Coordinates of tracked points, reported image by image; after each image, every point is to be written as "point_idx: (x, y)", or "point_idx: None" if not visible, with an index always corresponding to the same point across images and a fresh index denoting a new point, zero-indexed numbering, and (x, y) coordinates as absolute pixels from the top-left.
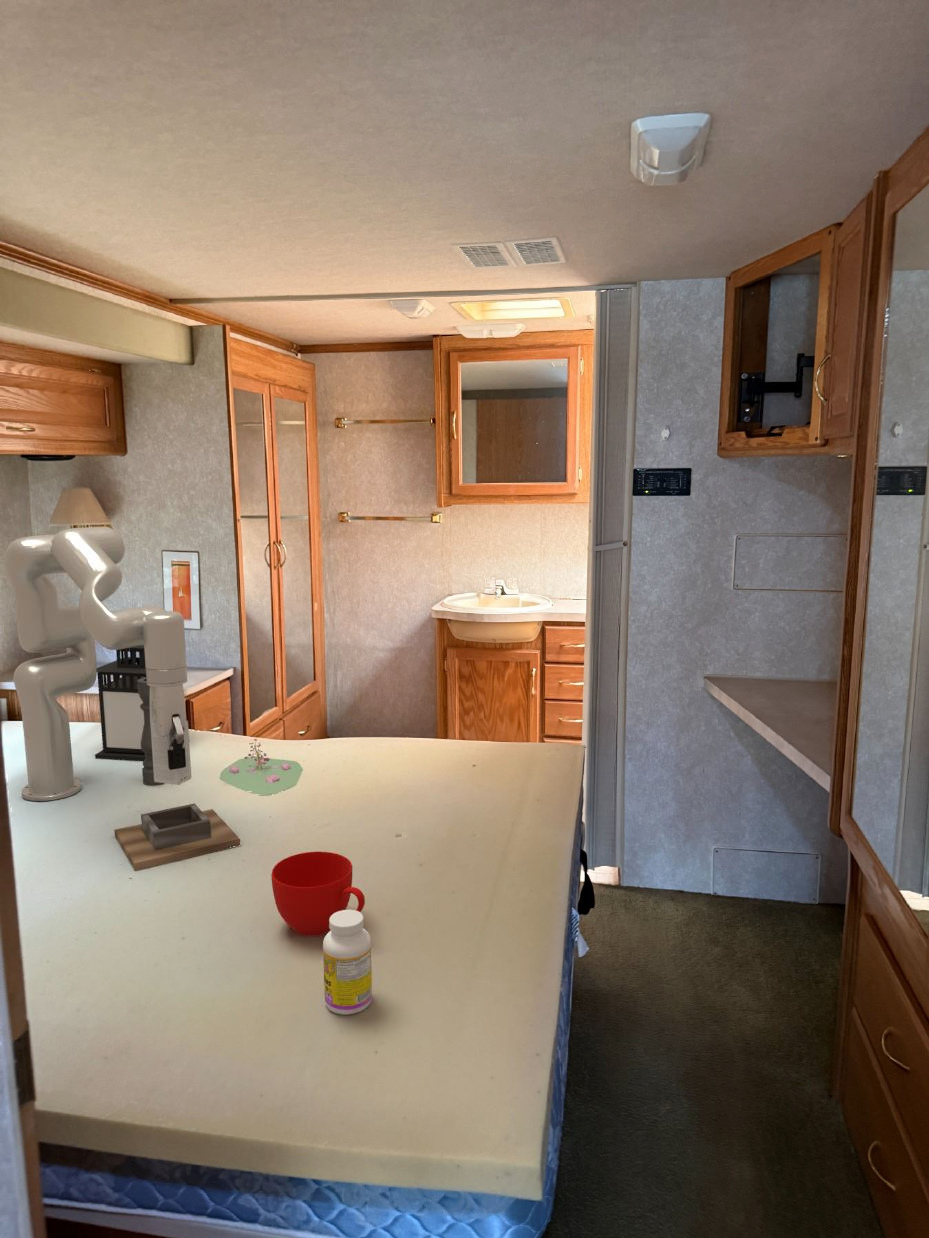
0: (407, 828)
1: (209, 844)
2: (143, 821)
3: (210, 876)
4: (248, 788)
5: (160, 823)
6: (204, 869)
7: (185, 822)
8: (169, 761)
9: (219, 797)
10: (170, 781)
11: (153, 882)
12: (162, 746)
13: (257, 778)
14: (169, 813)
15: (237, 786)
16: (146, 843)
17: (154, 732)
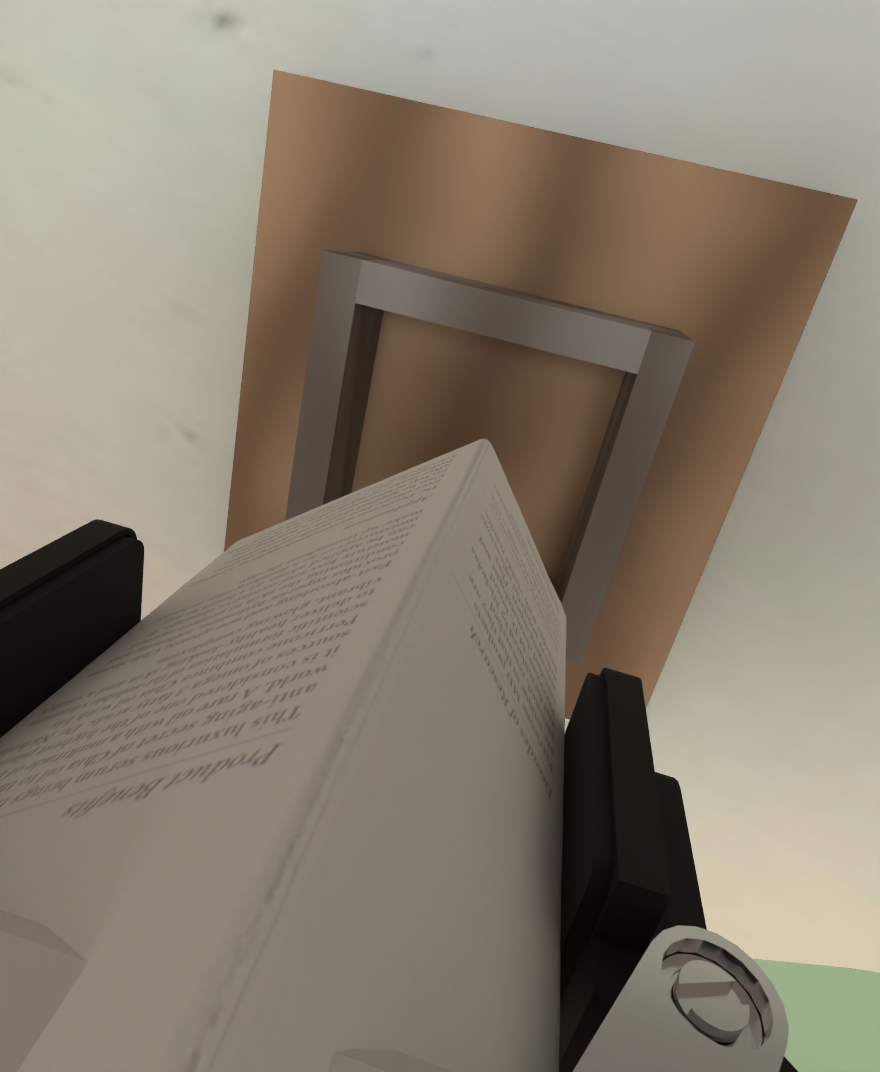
0: None
1: (244, 490)
2: (622, 322)
3: (32, 344)
4: (781, 982)
5: (609, 430)
6: (108, 363)
7: (567, 554)
8: (24, 563)
9: (813, 860)
10: (300, 516)
11: (111, 100)
12: (159, 706)
13: (835, 1066)
14: (594, 500)
15: (857, 977)
16: (481, 259)
17: (145, 908)
